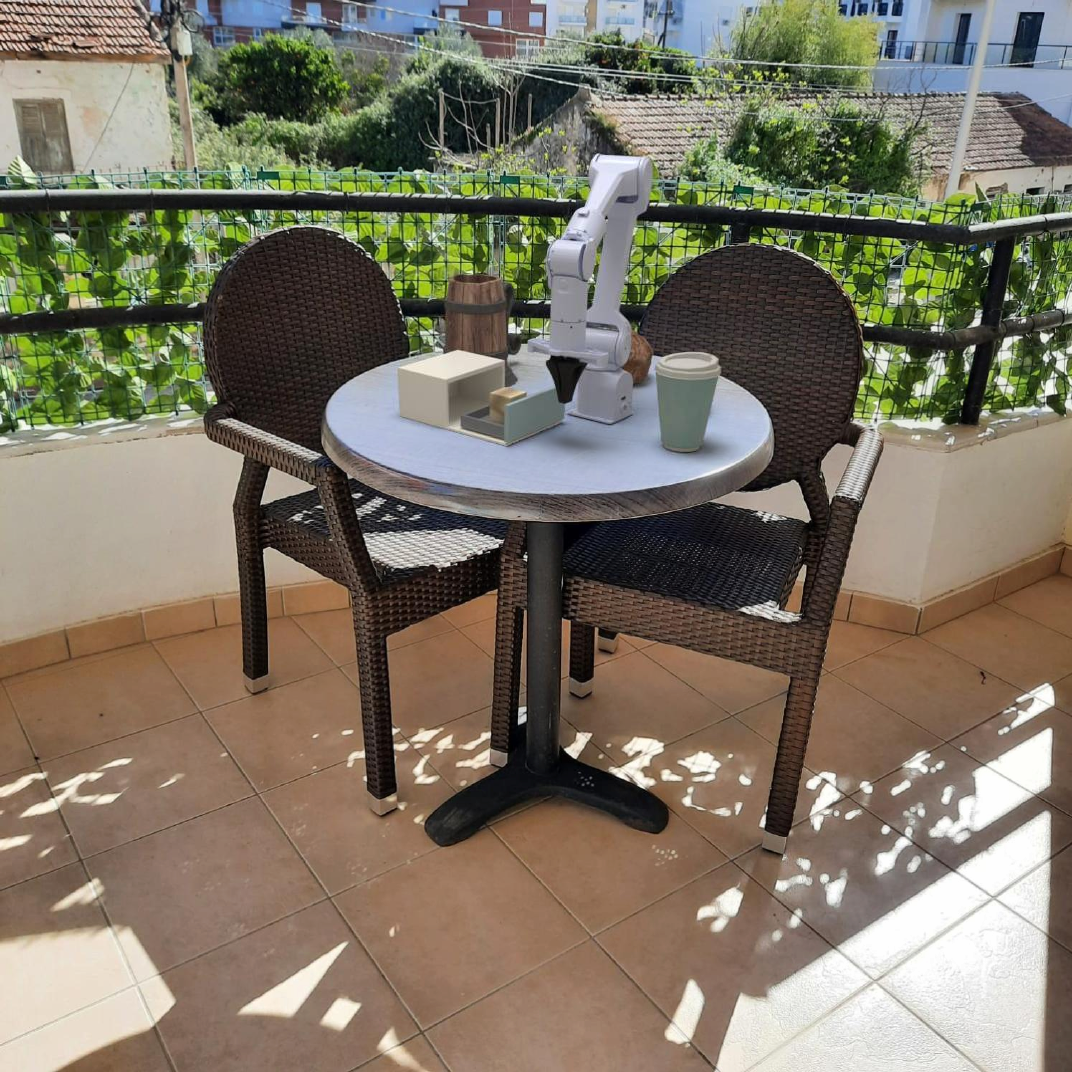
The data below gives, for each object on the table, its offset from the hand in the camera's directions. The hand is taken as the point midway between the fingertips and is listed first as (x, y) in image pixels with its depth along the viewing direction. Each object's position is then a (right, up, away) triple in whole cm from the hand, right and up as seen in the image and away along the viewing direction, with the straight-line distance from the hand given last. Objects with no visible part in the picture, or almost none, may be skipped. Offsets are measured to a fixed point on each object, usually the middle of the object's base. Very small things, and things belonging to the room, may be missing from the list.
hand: (565, 401), depth 159 cm
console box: (-15, -1, +13) cm, 19 cm away
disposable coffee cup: (+19, -7, +3) cm, 21 cm away
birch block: (-10, -2, +9) cm, 13 cm away
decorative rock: (+13, +9, +37) cm, 41 cm away
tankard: (-15, +10, +38) cm, 42 cm away
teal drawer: (-10, -3, +9) cm, 14 cm away
